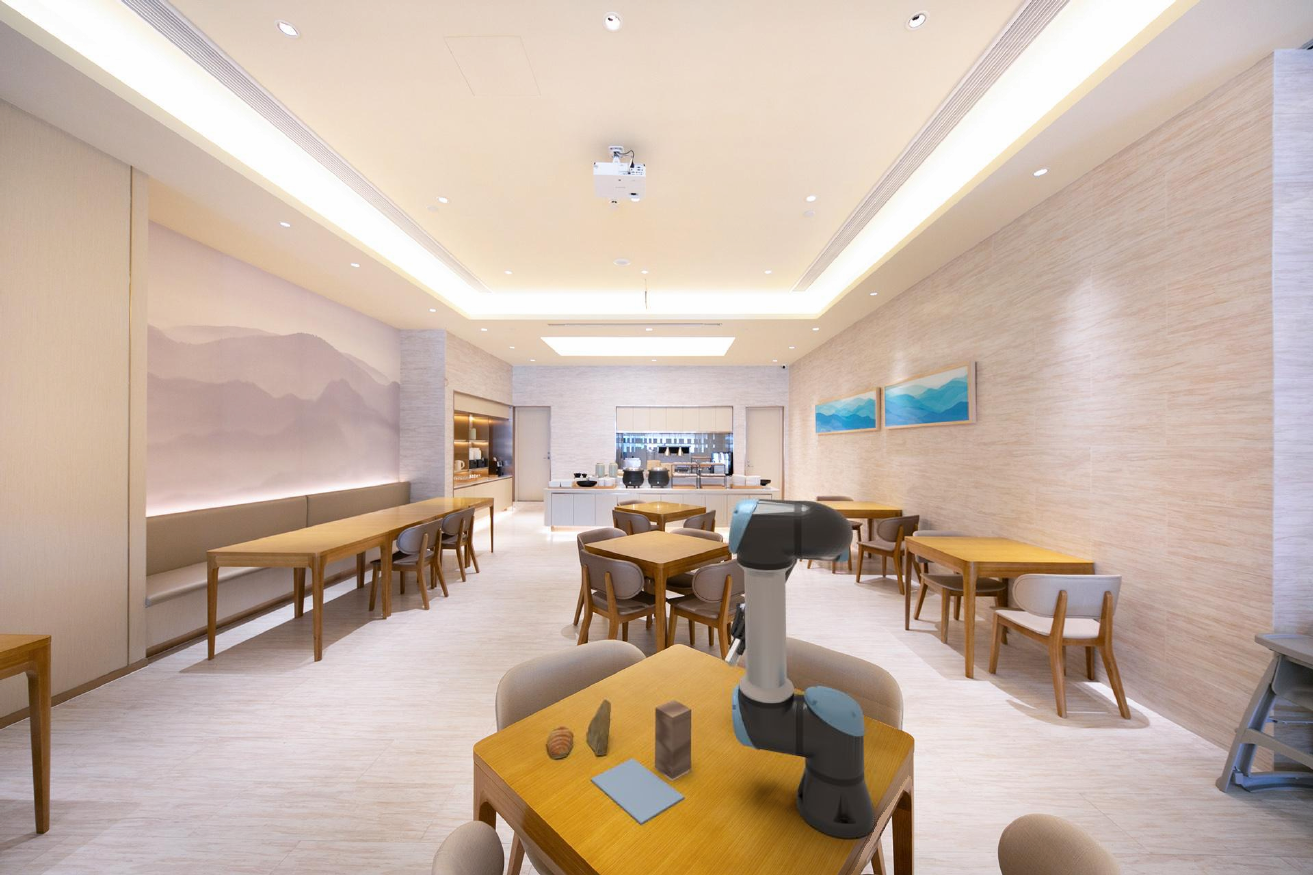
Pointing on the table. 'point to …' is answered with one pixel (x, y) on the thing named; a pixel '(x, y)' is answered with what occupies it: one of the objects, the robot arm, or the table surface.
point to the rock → (600, 729)
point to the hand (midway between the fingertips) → (729, 663)
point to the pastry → (560, 742)
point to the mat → (637, 790)
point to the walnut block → (673, 739)
